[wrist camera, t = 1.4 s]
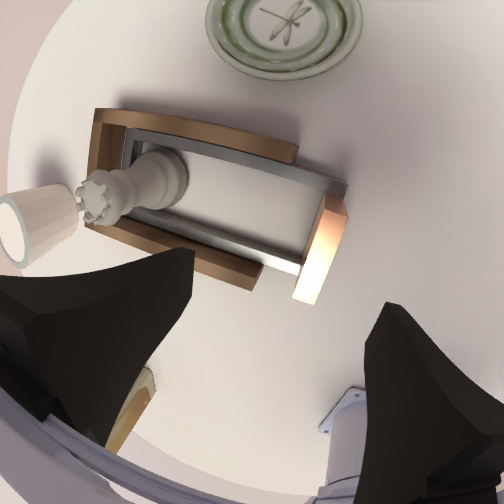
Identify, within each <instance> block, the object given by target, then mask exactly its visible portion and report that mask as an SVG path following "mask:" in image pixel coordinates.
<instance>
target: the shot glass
mask: <svg viewBox="0 0 504 504" xmlns="http://www.w3.org/2000/svg"><path fill="white" fill-rule="evenodd" d="M78 222H79V221H78V210H77V206H76V201H75V199H74V197H73V195H72V193H71V191H70V190H69V189H68V188H67V187H65V186H64V185H61V184H54V185H48V186H43V187H38V188H33V189H28V190H23V191H18V192H14V193H9V194H5V195H3V196H1V197H0V245H1V247H2V249H3V251H4V253H5V255H6V257H7V258H8V259H9V261H10V262H11V263H12V265H14V266H15V267H17V268H19V269H23V268H26V267H27V266H29V265H30V264H31V263H33V262H34V261H36V260H37V259H38V258H40V257H41V256H43V255H44V254H45V253H47V252H48V251H50V250H51V249H53V248H54V247H55V246H57V245H58V244H60V243H61V242H63V241H64V240H66V239H67V238H69V237H70V236H72V235H73V233H74V232H75V231H76V229H77V225H78Z"/></svg>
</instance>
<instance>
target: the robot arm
mask: <svg viewBox="0 0 504 504" xmlns="http://www.w3.org/2000/svg"><path fill="white" fill-rule="evenodd" d="M195 252H196V251H195V250H191V249H187V248H184V247H177V248H173V249H169V250H166V251H163V252H160V253H157V254H154V255H151V256H148V257H145V258H142V259H139V260H136V261H133V262H129V263H126V264H123V265H119V266H116V267H112V268H108V269H104V270H99V271H94V272H89V273H83V274H75V275H66V276H56V277H18V276H5V275H0V475H1V476H2V477H3V478H4V480H5V481H6V482H7V483H8V484H9V485H10V486H11V487H12V488H13V489H14V490H15V491H16V492H17V493H18V494H19V495H20V496H21V497H22V498H23V499H24V500H25V501H26V502H28V503H29V504H135V503H132V502H130V501H128V500H126V499H124V498H122V497H121V496H120V495H119V494H117V493H116V492H115V491H114V490H113V489H112V488H111V487H110V485H109V482H108V481H107V480H105V479H104V478H102V477H101V476H99V475H98V474H100V475H102V476H103V477H105V478H107V479H109V480H110V481H112V482H114V483H116V484H118V485H120V486H122V487H124V488H126V489H128V490H130V491H132V492H134V493H136V494H138V495H140V496H142V497H144V498H146V499H149V500H151V501H153V502H156V503H158V504H244V503H240V502H236V501H232V500H229V499H225V498H221V497H217V496H214V495H211V494H208V493H205V492H202V491H199V490H196V489H193V488H190V487H187V486H185V485H182V484H179V483H177V482H174V481H171V480H169V479H167V478H164V477H162V476H159V475H157V474H155V473H153V472H150V471H148V470H146V469H144V468H141V467H140V466H137V465H135V464H133V463H131V462H129V461H127V460H125V459H123V458H121V457H120V456H117V455H116V454H114V453H112V452H110V451H108V450H107V449H105V446H106V443H107V441H108V438H109V436H110V433H111V431H112V428H113V426H114V424H115V421H116V419H117V417H118V415H119V413H120V411H121V408H122V406H123V404H124V402H125V400H126V398H127V396H128V394H129V392H130V391H131V389H132V387H133V385H134V383H135V381H136V379H137V378H138V376H139V374H140V372H141V371H142V369H143V367H144V365H145V364H146V362H147V361H148V359H149V358H150V356H151V355H152V353H153V352H154V351H155V349H156V348H157V347H158V346H159V344H160V343H161V342H162V340H163V339H164V338H165V336H166V335H167V334H168V332H169V331H170V330H171V328H172V327H173V326H174V324H175V323H176V322H177V320H178V319H179V318H180V316H181V315H182V313H183V311H184V309H185V308H186V306H187V304H188V302H189V300H190V298H191V296H192V286H193V274H194V262H195ZM364 373H365V387H366V391H364V390H360V389H356V388H351V389H349V390H348V391H347V392H346V394H345V395H344V396H343V398H342V399H341V400H340V402H339V403H338V404H337V405H336V407H335V408H334V409H333V410H332V412H331V413H330V414H329V415H328V417H327V418H326V419H325V420H324V421H323V423H322V424H321V425H320V426H319V427H318V432H320V433H324V434H329V435H331V440H330V450H329V459H328V467H327V475H326V482H325V486H322V487H319V490H318V496H312V497H310V498H309V499H308V501H306V502H305V503H304V504H504V490H501V491H500V492H497V493H496V486H497V485H499V484H500V483H501V476H500V474H501V473H502V472H504V404H503V403H501V402H500V401H498V400H497V399H495V398H494V397H492V396H491V395H490V394H488V393H487V392H485V391H484V390H483V389H482V388H480V387H479V386H478V385H477V384H475V383H474V382H473V381H472V380H471V379H469V378H468V377H467V376H466V375H465V374H464V373H463V372H462V371H461V370H460V369H459V368H458V367H456V366H455V365H454V364H453V363H452V362H451V361H450V360H449V358H448V357H447V356H446V355H445V354H444V353H443V352H442V351H441V350H440V349H439V348H438V346H437V345H436V344H435V343H434V342H433V341H432V340H431V338H430V337H429V336H428V335H427V334H426V333H425V331H424V330H423V329H422V328H421V327H420V326H419V324H418V323H417V322H416V321H415V320H414V319H413V317H412V316H411V315H410V314H409V313H408V312H407V311H406V310H405V309H404V308H403V307H402V306H401V305H398V304H394V303H390V302H386V303H385V305H384V307H383V309H382V311H381V313H380V315H379V317H378V319H377V321H376V323H375V325H374V327H373V329H372V331H371V333H370V335H369V337H368V338H367V340H366V342H365V354H364ZM89 468H90V469H89ZM92 470H93V471H92ZM94 471H95V472H97V473H98V474H96V473H95V472H94Z"/></svg>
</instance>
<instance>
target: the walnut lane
mask: <svg viewBox="0 0 504 504" xmlns="http://www.w3.org/2000/svg"><path fill="white" fill-rule="evenodd" d="M127 126H129V127H135V128H141V129H147V130H152V131H158V132H163V133H168V134H173V135H178V136H183V137H188V138H193V139H197V140H202V141H206V142H210V143H214V144H219V145H223V146H227V147H231V148H235V149H239V150H242V151H246V152H250V153H254V154H257V155H261V156H264V157H268V158H271V159H275V160H278V161H282V162H285V163H288V164H290V163H291V162H293V161H294V160H295V159H296V155H297V152H298V148H299V145H296V144H292V143H289V142H285V141H282V140H278V139H275V138H271V137H267V136H263V135H260V134H256V133H252V132H248V131H244V130H240V129H235V128H231V127H227V126H222V125H217V124H213V123H208V122H203V121H198V120H193V119H187V118H182V117H176V116H170V115H164V114H157V113H150V112H143V111H135V110H127V109H112V108H95V113H94V119H93V126H92V133H91V140H90V148H89V157H88V167H87V177H88V176H89V175H90V173H92V172H94V171H96V170H106V171H108V172H110V171H112V170H115V169H116V170H120V166H121V159H122V152H123V145H124V138H125V132H126V127H127ZM85 215H86V213H85ZM85 227H87V228H89V229H91V230H94V231H96V232H99V233H101V234H103V235H106V236H108V237H111V238H113V239H116V240H118V241H120V242H123V243H125V244H128V245H130V246H133V247H135V248H138V249H140V250H143V251H145V252H148V253H150V254H153V255H154V254H157V253H160V252H163V251H166V250H169V249H173V248H177V247H184V248H187V249H191V250H195V251H196V252H195V262H194V271H197V272H200V273H202V274H205V275H208V276H210V277H213V278H216V279H219V280H221V281H224V282H227V283H230V284H232V285H235V286H238V287H241V288H243V289H246V290H249V291H252V290H253V288H254V286H255V284H256V282H257V280H258V278H259V276H260V274H261V272H262V269H263V266H264V264H262V263H259V262H256V261H253V260H250V259H248V258H245V257H242V256H239V255H236V254H233V253H230V252H227V251H224V250H222V249H219V248H216V247H213V246H210V245H207V244H204V243H201V242H199V241H196V240H193V239H190V238H187V237H184V236H181V235H179V234H176V233H173V232H170V231H167V230H164V229H162V228H159V227H156V226H153V225H150V224H147V223H145V222H142V221H139V220H136V219H133V218H130V217H128V216H125V215H121V216H120V219H119V220H118V221H117V222H116V223H115V224H114V225H110V226H107V227H106V226H102V225H98V224H97V225H94V221H93V222H91V223H89V224H88V223H87V222H85Z"/></svg>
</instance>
